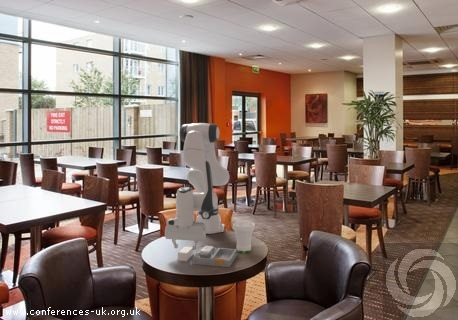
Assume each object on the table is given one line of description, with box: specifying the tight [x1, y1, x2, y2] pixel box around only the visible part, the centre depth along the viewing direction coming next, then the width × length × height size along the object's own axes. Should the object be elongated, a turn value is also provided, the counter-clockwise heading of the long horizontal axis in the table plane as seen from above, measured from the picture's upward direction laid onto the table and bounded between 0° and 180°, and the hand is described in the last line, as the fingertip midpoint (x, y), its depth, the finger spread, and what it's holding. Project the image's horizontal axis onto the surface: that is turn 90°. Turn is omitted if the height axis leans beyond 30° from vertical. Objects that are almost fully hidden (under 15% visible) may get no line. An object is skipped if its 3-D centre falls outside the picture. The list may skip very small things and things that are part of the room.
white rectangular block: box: [177, 246, 194, 262], centre depth 197 cm, size 10×4×4 cm, turn 167°
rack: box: [191, 245, 238, 268], centre depth 194 cm, size 17×18×5 cm
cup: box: [232, 221, 256, 254], centre depth 206 cm, size 11×11×14 cm
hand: (185, 248), depth 196 cm, fingers open, 8 cm apart
